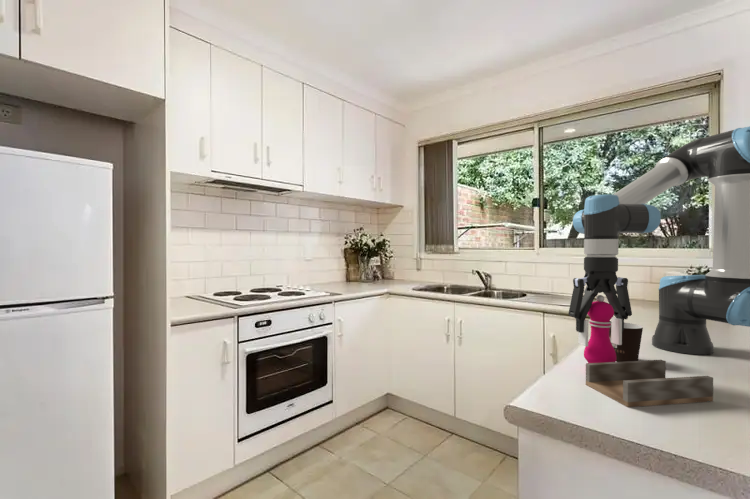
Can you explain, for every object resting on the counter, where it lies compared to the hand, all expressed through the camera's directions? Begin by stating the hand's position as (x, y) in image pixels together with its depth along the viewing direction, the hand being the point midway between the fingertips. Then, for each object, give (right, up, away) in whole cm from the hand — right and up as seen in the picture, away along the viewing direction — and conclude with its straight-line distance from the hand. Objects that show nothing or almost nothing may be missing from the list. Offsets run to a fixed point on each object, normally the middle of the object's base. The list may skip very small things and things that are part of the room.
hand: (599, 344), depth 97 cm
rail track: (+3, -8, -13) cm, 15 cm away
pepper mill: (0, -8, 0) cm, 8 cm away
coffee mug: (+13, -7, +12) cm, 20 cm away
